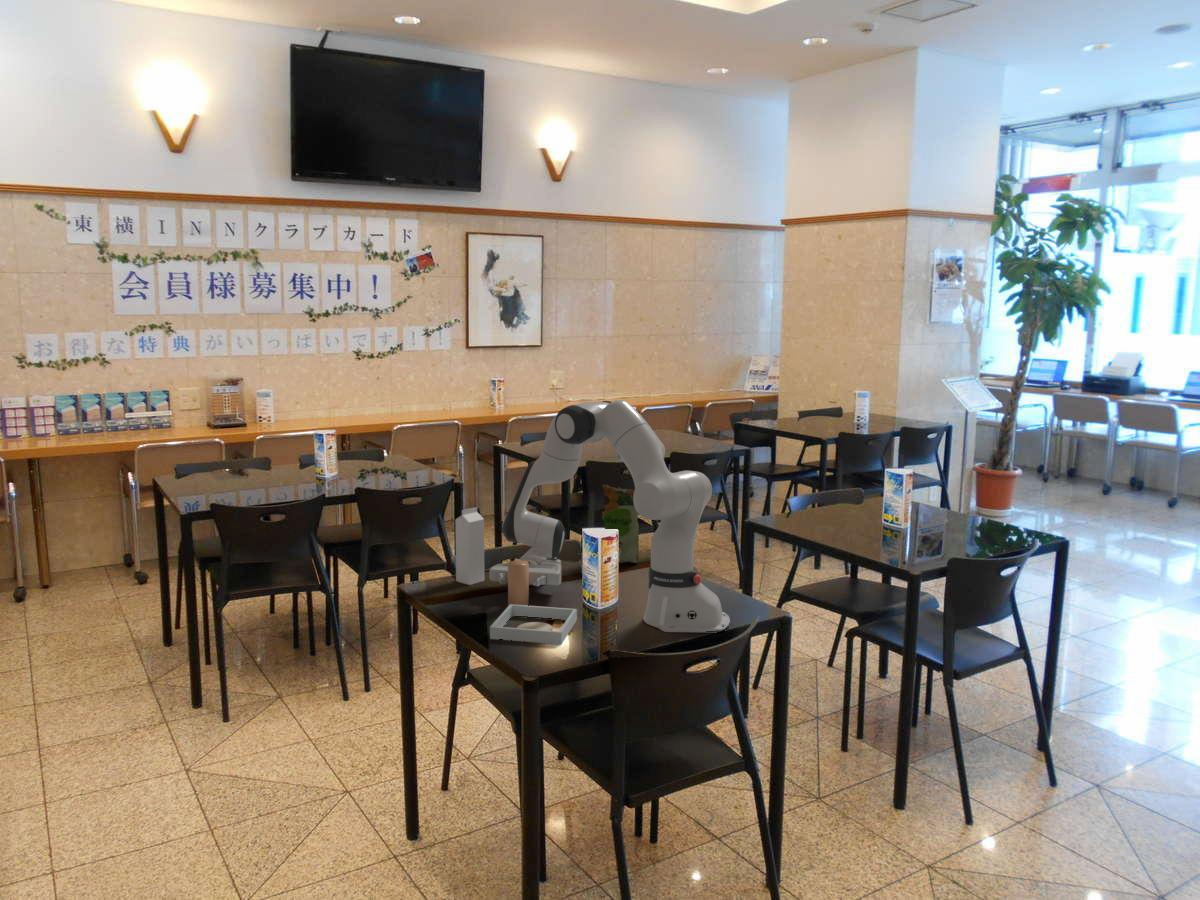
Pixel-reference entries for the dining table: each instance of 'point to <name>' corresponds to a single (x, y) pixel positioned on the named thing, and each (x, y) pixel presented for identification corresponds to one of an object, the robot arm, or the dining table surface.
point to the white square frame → (532, 634)
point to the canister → (518, 582)
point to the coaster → (536, 626)
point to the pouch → (622, 521)
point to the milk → (469, 547)
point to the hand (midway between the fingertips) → (518, 582)
